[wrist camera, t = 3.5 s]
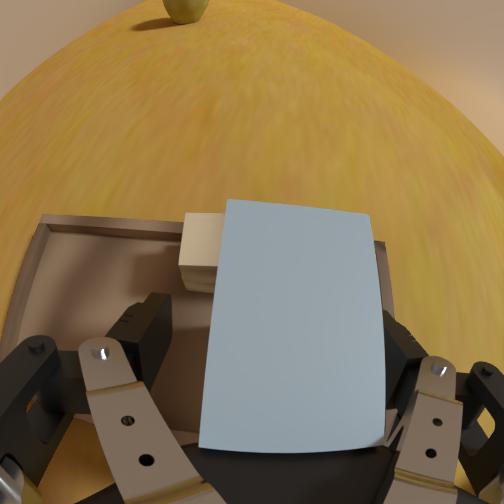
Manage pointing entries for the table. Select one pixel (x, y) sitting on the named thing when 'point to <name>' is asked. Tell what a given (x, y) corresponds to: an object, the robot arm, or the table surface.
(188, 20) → the green bowl
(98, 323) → the brown serving tray
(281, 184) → the table surface
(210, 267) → the offcut stack
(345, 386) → the blue-grey rectangular block
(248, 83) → the table surface
